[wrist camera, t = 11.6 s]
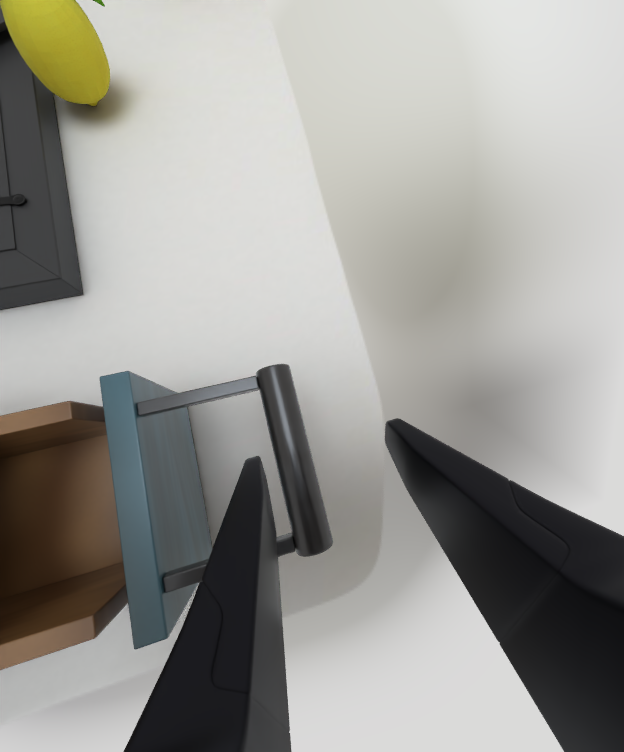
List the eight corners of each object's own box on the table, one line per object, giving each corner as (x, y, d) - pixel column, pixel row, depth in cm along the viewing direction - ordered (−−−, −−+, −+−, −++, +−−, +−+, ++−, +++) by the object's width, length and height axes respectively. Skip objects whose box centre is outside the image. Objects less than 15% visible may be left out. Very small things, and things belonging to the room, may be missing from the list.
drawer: (282, 374, 21) (283, 336, 13) (318, 523, 19) (344, 581, 12) (-22, 442, 18) (-248, 446, 10) (-13, 627, 16) (-279, 799, 9)
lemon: (40, 125, 24) (-119, -83, 15) (59, 72, 26) (-76, -152, 16) (125, 139, 25) (26, -52, 15) (139, 87, 26) (57, -121, 16)
